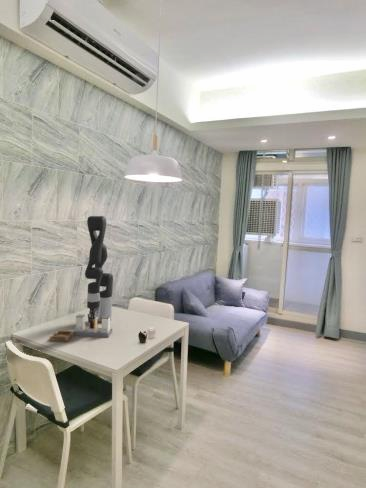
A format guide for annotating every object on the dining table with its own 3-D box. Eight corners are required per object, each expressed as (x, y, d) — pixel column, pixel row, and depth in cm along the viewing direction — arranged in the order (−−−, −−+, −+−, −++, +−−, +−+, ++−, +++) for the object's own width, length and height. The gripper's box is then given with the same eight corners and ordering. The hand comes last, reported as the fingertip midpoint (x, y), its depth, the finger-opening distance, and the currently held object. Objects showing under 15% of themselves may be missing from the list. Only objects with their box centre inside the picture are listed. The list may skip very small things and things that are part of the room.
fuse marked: (90, 329, 200) (91, 314, 200) (97, 329, 200) (97, 315, 199) (88, 331, 196) (88, 316, 196) (95, 331, 196) (95, 317, 195)
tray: (57, 334, 194) (57, 330, 194) (73, 335, 194) (73, 331, 194) (50, 340, 184) (50, 336, 184) (67, 342, 184) (67, 337, 184)
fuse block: (78, 329, 203) (78, 312, 202) (112, 331, 203) (112, 314, 202) (72, 335, 195) (72, 317, 194) (108, 337, 194) (108, 319, 193)
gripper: (91, 296, 204) (90, 322, 205) (83, 302, 190) (82, 330, 191) (103, 297, 204) (102, 323, 205) (95, 303, 189) (95, 331, 191)
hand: (93, 326), depth 198 cm, fingers closed on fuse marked, 4 cm apart
